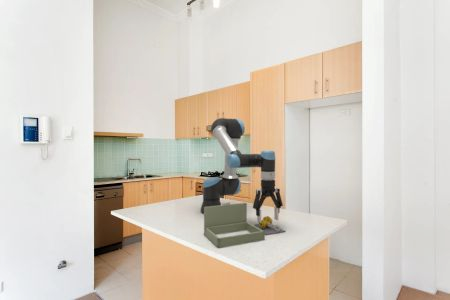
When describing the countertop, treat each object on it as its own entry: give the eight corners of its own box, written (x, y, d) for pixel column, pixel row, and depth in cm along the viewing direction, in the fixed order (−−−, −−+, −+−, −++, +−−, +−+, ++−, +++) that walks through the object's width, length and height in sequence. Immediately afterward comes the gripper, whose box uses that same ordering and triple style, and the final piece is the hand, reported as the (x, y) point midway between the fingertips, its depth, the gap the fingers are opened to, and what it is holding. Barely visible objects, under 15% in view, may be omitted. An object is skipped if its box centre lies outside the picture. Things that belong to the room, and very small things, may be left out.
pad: (249, 226, 137) (249, 225, 137) (267, 223, 142) (267, 222, 142) (265, 235, 122) (265, 234, 122) (285, 232, 127) (285, 230, 127)
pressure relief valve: (256, 227, 131) (265, 223, 139) (276, 235, 123) (285, 230, 131) (257, 217, 130) (266, 213, 138) (278, 225, 123) (286, 220, 131)
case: (204, 234, 123) (204, 204, 123) (245, 228, 133) (245, 200, 133) (218, 248, 106) (218, 213, 106) (264, 239, 116) (264, 208, 116)
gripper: (253, 181, 123) (253, 225, 123) (289, 179, 132) (289, 220, 132) (245, 179, 130) (245, 221, 130) (281, 177, 139) (281, 216, 139)
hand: (268, 220), depth 131 cm, fingers open, 10 cm apart
